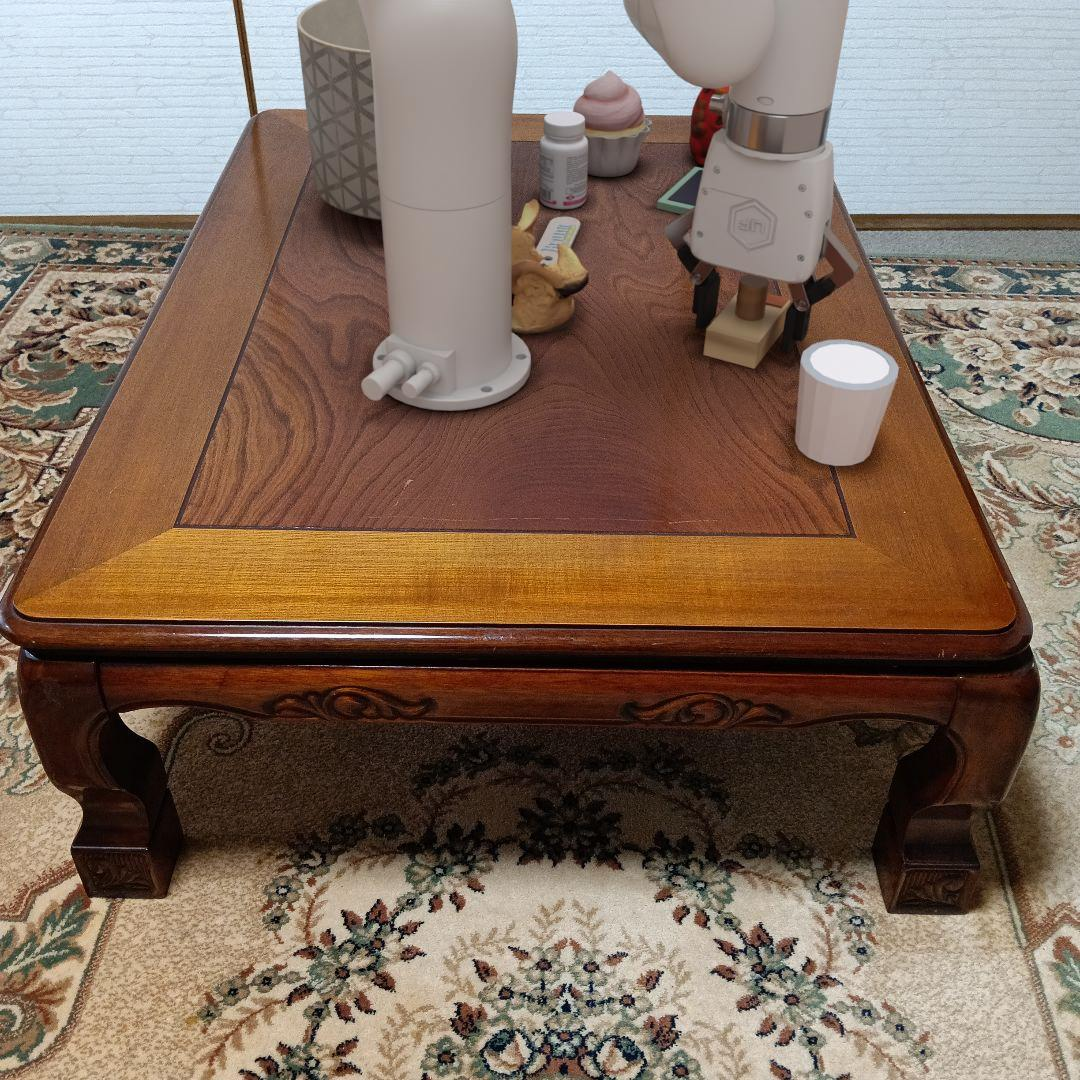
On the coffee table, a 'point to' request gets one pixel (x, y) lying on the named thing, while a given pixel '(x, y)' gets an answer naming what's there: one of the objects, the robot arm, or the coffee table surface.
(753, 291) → the stamp
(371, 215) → the planter
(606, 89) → the cupcake
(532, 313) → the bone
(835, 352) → the white cylinder
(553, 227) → the keychain
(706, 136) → the red clay folk toy
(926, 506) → the coffee table surface
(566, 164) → the pill bottle
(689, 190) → the ink pad
